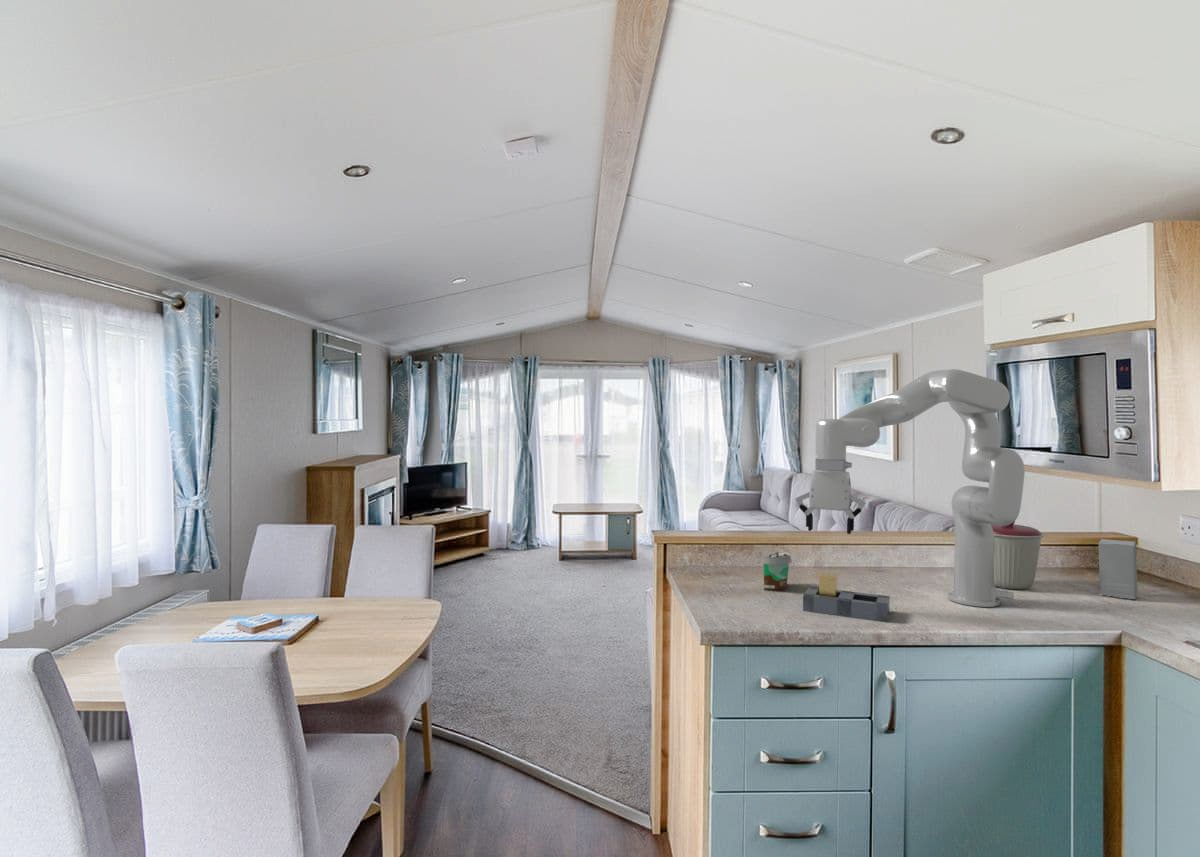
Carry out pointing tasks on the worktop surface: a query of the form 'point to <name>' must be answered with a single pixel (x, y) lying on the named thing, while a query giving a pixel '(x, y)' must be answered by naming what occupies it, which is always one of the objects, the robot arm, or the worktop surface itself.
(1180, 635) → the worktop surface
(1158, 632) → the worktop surface
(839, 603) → the grey peg board
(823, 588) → the brass peg
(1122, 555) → the skincare box
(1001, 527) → the canister
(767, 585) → the food container
